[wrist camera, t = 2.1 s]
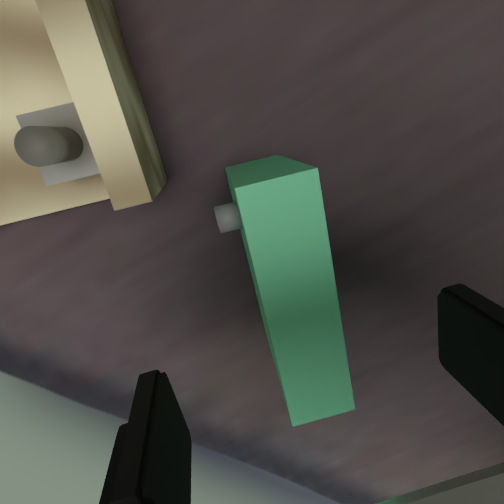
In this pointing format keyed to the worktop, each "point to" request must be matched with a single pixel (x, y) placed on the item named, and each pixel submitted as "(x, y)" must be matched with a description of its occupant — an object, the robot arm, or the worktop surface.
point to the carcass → (70, 112)
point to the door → (292, 280)
